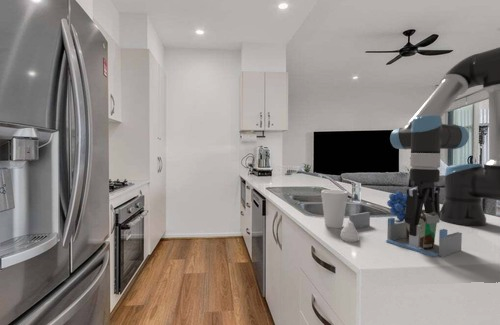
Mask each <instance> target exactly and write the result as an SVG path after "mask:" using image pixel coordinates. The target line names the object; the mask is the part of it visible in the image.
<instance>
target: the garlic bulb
mask: <svg viewBox="0 0 500 325" xmlns="http://www.w3.org/2000/svg"><path fill="white" fill-rule="evenodd" d="M339 236H340V237H341V239H342V241H344V240H345V241H344V242H348V241H349V242H350V243H351V242H352V243H354V242H358V241H359V238H360V237H359V233H358V231H357V228H355V227H354V224H353V222H351V221H349V220H348V221H347V223H346V224H345V225H343V228H342V229H341V231H340V235H339Z"/></svg>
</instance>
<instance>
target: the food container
mask: <svg viewBox="0 0 500 325" xmlns="http://www.w3.org/2000/svg"><path fill="white" fill-rule="evenodd" d="M405 211H406V208H405ZM438 223H440V220H439V216H438V214H437V213H435V212H432V213H425V209H423V208H422V212H421V216H420V220H419V224H418V225H420V249H424V250H427V251H430V250H434V248H435V243H434V240H436V231H437V226H438V225H437V224H438ZM409 227H410V225H409V224H408V223H406V237H405V240H407V241H408V242H409Z"/></svg>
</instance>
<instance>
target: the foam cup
mask: <svg viewBox="0 0 500 325" xmlns="http://www.w3.org/2000/svg"><path fill="white" fill-rule="evenodd" d="M348 193H349V192H348V191H347V190H341V189H323V190H321V196H320V197H321V202H322V211H323V218H324V219H323V220H324V226H325V227H328V228H332V229H340V228H343V227H344V220H345V216H346V215H345V213H346V206H347V201H348V195H349V194H348ZM342 226H343V227H342Z"/></svg>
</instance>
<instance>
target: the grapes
mask: <svg viewBox="0 0 500 325" xmlns="http://www.w3.org/2000/svg"><path fill="white" fill-rule="evenodd" d="M388 198H389V199H388V200H387V202H386V203H387V206H388V207H389V208H390V209H389V212H390V214H391V215H393V216H396V218H397V220H398V221H399V222H402V221H404V220H405V208H406V202H407V193H403V192H402V191H400V190H397V191H396V192H395V193H390V194H389V196H388Z"/></svg>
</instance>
